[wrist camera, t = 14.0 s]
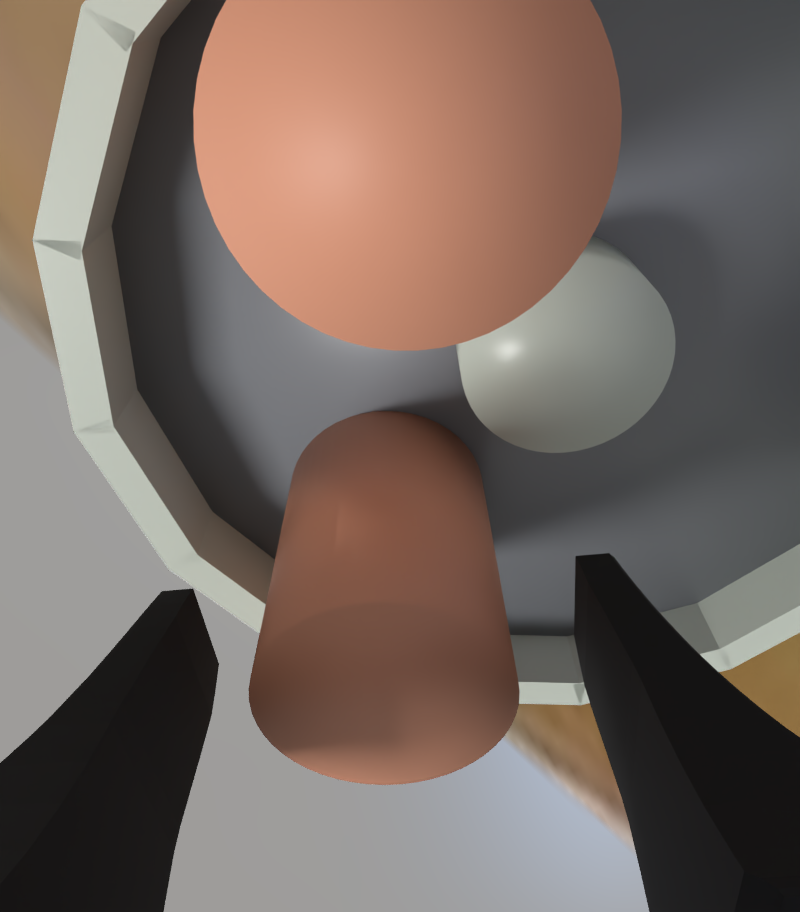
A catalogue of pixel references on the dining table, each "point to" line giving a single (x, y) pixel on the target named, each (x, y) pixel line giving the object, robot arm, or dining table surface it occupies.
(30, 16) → the dining table surface
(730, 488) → the groove tray
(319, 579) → the reddish brown rounded cylinder
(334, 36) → the salmon rounded capsule
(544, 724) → the dining table surface
